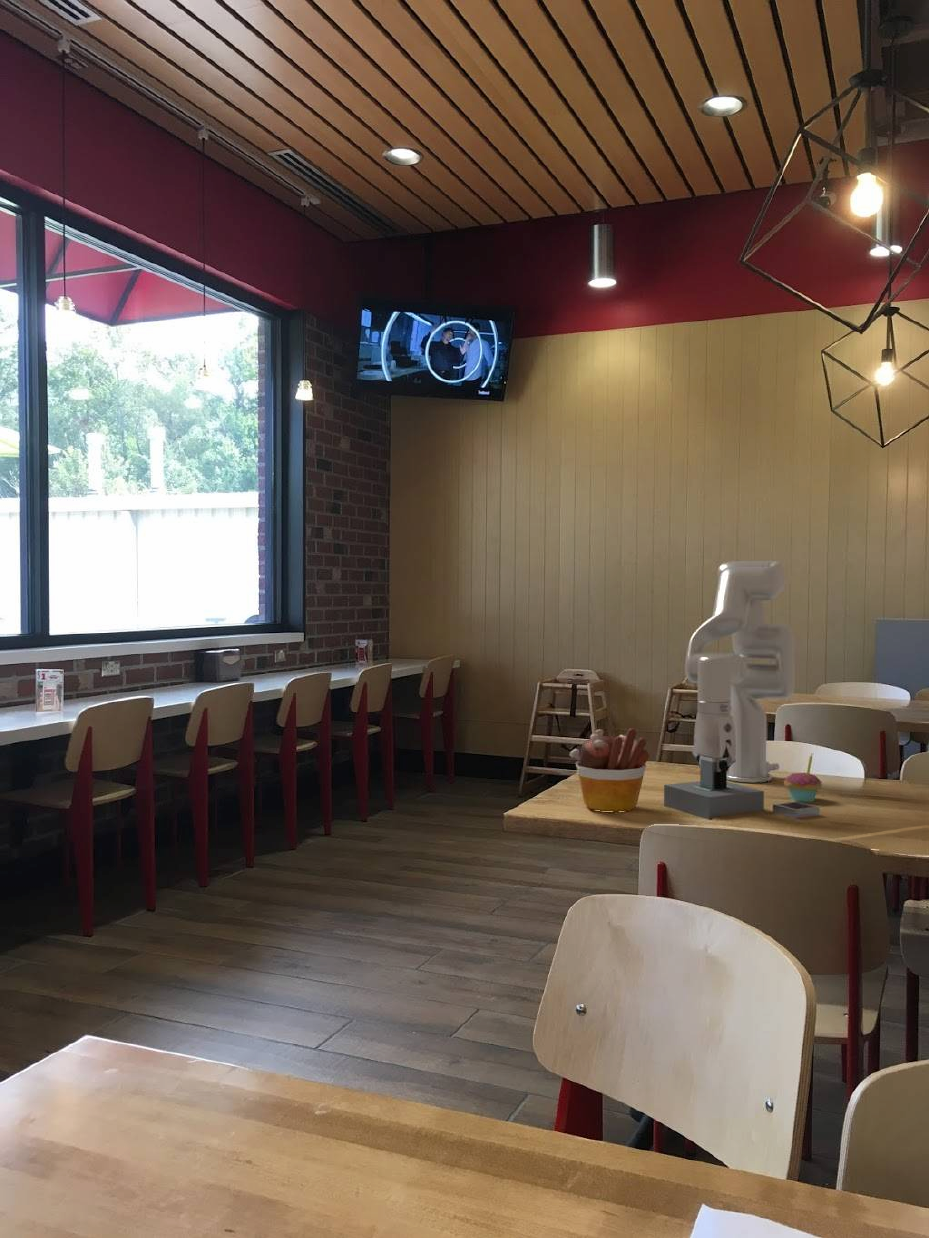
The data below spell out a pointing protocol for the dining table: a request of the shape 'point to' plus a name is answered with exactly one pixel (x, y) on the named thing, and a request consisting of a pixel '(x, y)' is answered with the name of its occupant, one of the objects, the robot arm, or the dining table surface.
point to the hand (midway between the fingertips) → (713, 785)
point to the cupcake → (803, 785)
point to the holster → (796, 809)
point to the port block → (712, 799)
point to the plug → (708, 773)
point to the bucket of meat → (611, 770)
